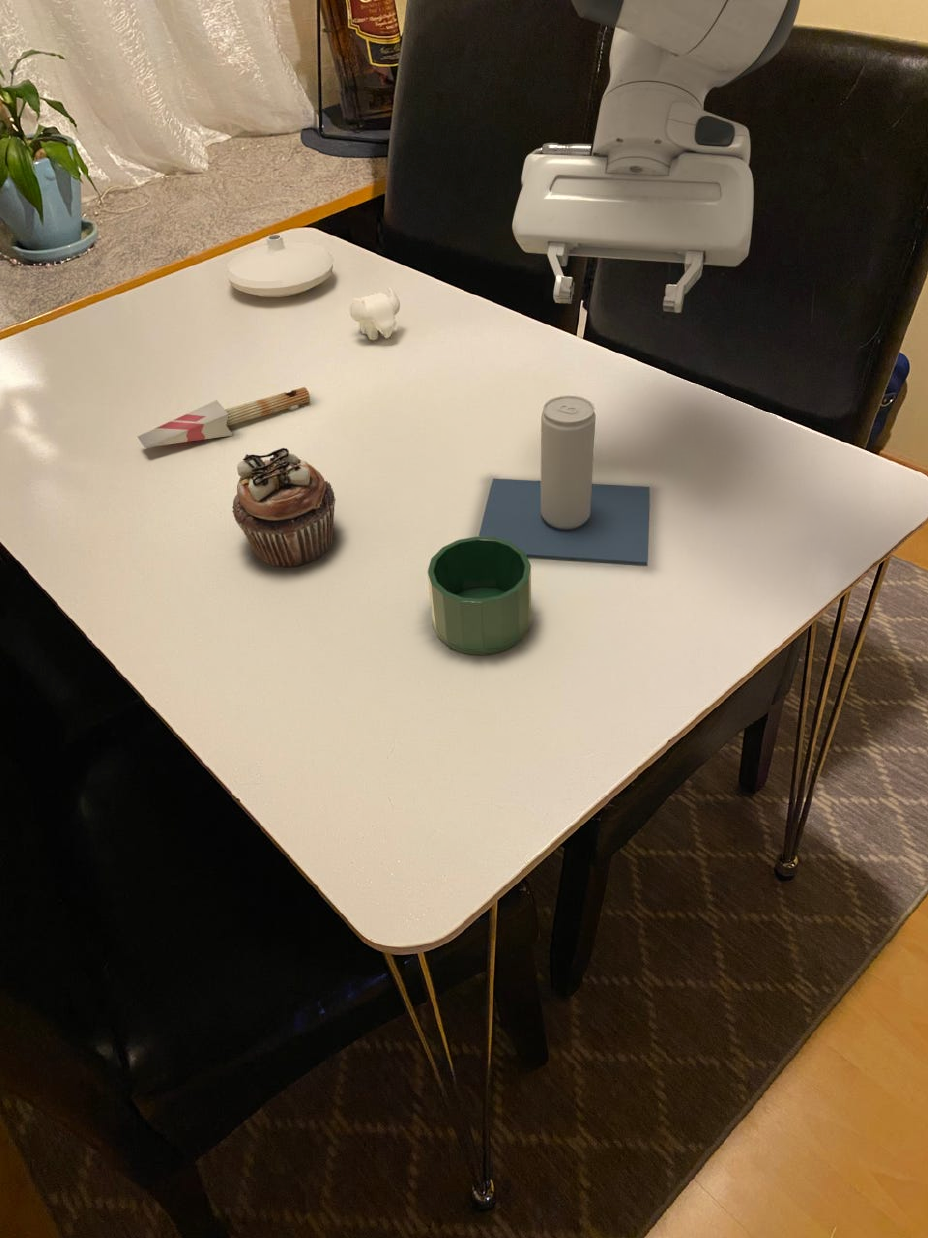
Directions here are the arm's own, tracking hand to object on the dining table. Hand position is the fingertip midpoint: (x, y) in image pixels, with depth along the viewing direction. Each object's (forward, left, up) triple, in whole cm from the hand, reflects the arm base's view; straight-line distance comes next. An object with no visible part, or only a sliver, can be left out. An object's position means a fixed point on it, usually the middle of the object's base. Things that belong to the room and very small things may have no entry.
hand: (616, 305), depth 77 cm
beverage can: (+4, +4, -20) cm, 20 cm away
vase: (+49, -49, -20) cm, 72 cm away
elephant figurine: (+31, -34, -20) cm, 50 cm away
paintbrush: (+43, -10, -20) cm, 49 cm away
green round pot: (+9, +19, -20) cm, 29 cm away
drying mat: (+3, +4, -20) cm, 21 cm away
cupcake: (+29, +10, -20) cm, 37 cm away
